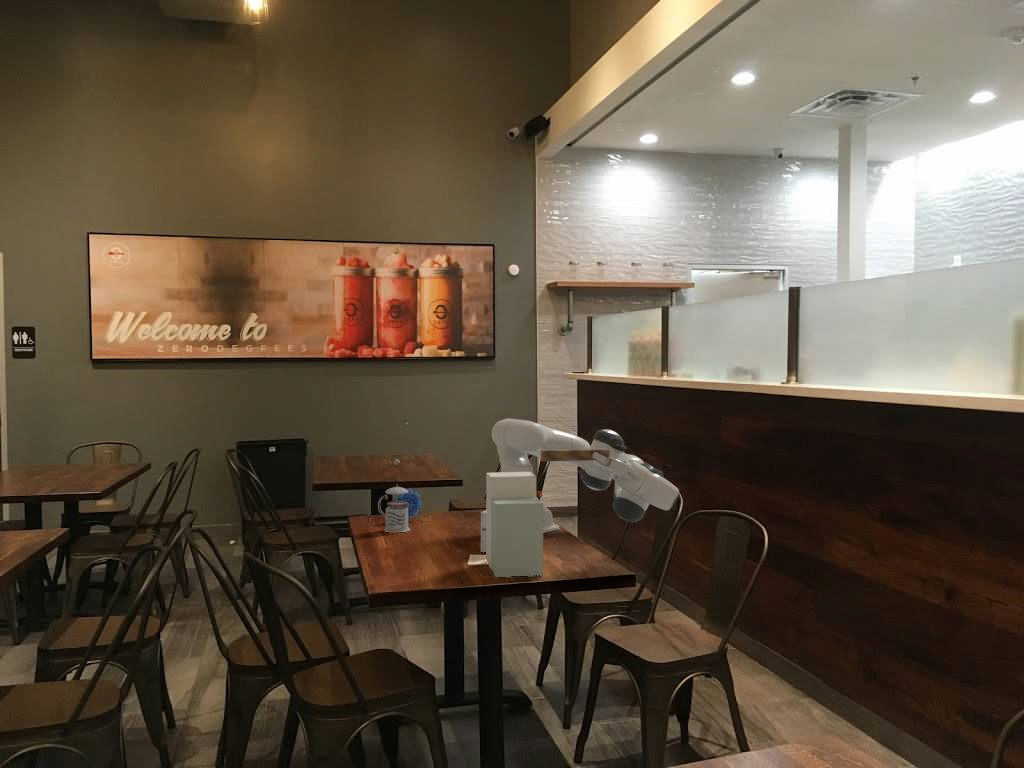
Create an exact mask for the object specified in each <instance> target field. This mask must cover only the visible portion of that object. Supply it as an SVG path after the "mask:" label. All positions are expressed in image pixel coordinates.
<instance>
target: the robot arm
mask: <svg viewBox="0 0 1024 768" xmlns="http://www.w3.org/2000/svg"><path fill="white" fill-rule="evenodd" d="M491 439H492V441H493V443H494V444H495V447H496V450H497V454H498V457H499V464H500V469H501V470H500V471H501V472H531V473H532V474H534V467H533V465H532V464H531V462H530V459H529V457H528V455H531V456H535V457H538V458H541V450H564V449H609V450H610V457H608V458H607V457H605V456H602V455H600V454H598V453H597V452H593V454H592V455H591V456H592V457H593V458H594V459H596V460H585V461H556V463H561V464H567V465H574V466H577V467H579V468H581V470H578V471H577V474H579V476H580V479H581V480H582V482H583V484H584V485H585V486H586V487H588V488H589V489H591V490H594V491H605V490H608V488H609V487H610V485H611V484H612V480H614V487H613V488H614V489H613V499H614V500H613V502H612V507H613V511H614V512H615V514H616V515H617V516H619V518H621V519H623V520H624V521H626V522H629V523H636V522H639V521H641V520H643V518H644V516H645V513H646V511H647V509H648V508H649V506H650V505H652V506H654V507H656V508H659V509H661V510H663V511H669V510H671V509H672V508H673V507H674V505H675V503H676V502H677V500H678V498H679V495H680V490H679V488H678V487H677V486H676V485H674V484H673V483H672V482H670V481H669V480H668V479H666V478H665V476H664V473H663V471H662V470H659V469H657V468H655V467H654V466H652V465H651V464H649V463H648V462H645V461H644V460H642V459H641V458H640V457H638V456H637V455H634V454H629V453H628V454H627V453H625V450H627V449H628V448H627V446H625V441H624V440H623V438H622V436H621V435H619V433H617V432H616V431H614V430H612V429H608V428H607V429H599V430H597V431H596V433H595V434H594V436H593V440H592V442H591V444H590V443H589V442H588V440H586V439H584V438H583V437H579V436H578V435H575V434H573V433H569V432H566V431H562V430H559V429H555V428H551V427H548V426H545V425H543V424H540V423H538V422H534V421H531V420H527V419H526V420H525V419H516V418H504V419H501V420H499V421H497V422H496V423H495V424H494V425H493V426H492V428H491ZM543 496H544V494H543V492H542V491H539V490H536V497H537V498H542V497H543ZM559 527H560V525H558V524H556V523H554V518H553V514H552V511H551V510H550V509H548V508H547V507H546V506H545V505H543V534H544V533H550V532H553V531H559V530H560V528H559Z"/></svg>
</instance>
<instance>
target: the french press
mask: <svg viewBox="0 0 1024 768" xmlns="http://www.w3.org/2000/svg"><path fill="white" fill-rule="evenodd" d="M393 461H394V464H399V463H400V460H399V459H395V460H393ZM408 490H409V489H406V488H404V487H401V486H398V485H396V486H394V487H390V488H388V489H387V490H385V494H384V495H383V496H381V497H380V498H379V500H378V502H377V510H378V512H379V513H380V514H382V516H383V517H384V518H385V521H384V522H385V524H384V525H385V527H384V529H383V530H384V531H385V532H393V533H394V532H395V533H396V532H406V531H410V529H411V528H410V527H409V521H408V507H407V506H403V505H406V504H407V502H403V501H401V502H398V501H395V502H394V501H393V500H392V501H388V502H387V503H386V505H387V506H386V507H385V513H384V512H383V510H382V509H381V508H382V507H381V506H380V503H381V501H382V500H383V498H384V499H385V500H387V499H388V498H389V496H388V495H398V494H407V493H408V492H409V491H408ZM397 508H399V509H397ZM393 513H395V514H394V515H392V514H393ZM403 515H404V516H403ZM397 516H401V517H397ZM396 519H399V520H401V521H398V520H396ZM403 519H404V520H403ZM385 532H384V533H385ZM410 532H411V531H410ZM406 533H407V532H406Z"/></svg>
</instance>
